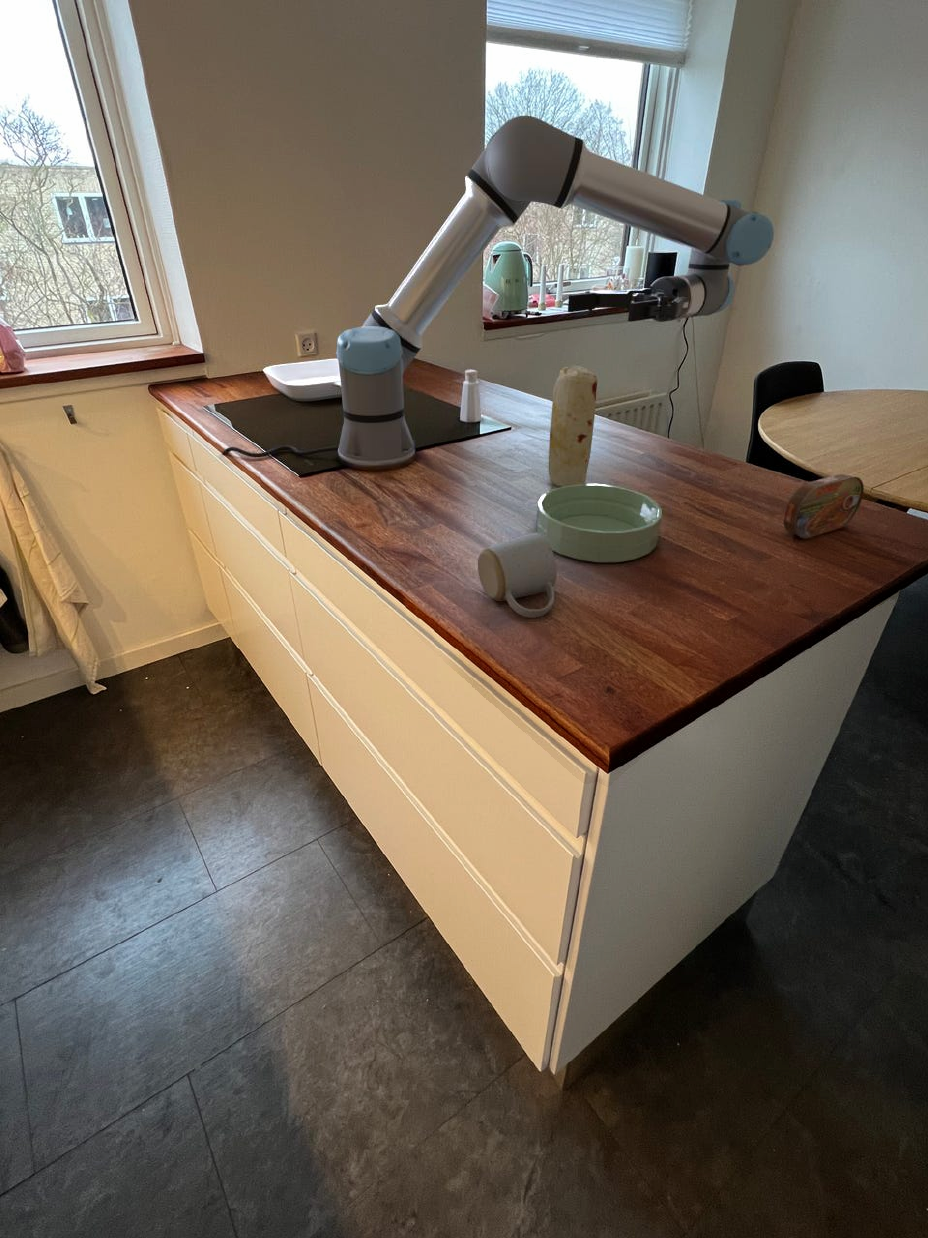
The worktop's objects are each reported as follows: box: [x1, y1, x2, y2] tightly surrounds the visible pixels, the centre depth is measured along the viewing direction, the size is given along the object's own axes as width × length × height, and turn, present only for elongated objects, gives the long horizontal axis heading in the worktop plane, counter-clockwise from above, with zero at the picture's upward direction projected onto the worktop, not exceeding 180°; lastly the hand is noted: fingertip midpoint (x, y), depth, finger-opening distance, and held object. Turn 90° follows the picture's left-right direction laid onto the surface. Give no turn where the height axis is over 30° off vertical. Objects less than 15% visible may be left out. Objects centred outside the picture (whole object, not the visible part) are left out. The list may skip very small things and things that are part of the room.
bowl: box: [535, 483, 663, 563], centre depth 96 cm, size 18×18×5 cm
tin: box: [783, 473, 865, 540], centre depth 97 cm, size 15×3×8 cm, turn 117°
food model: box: [547, 364, 598, 487], centre depth 111 cm, size 10×7×20 cm
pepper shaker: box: [459, 369, 482, 423], centre depth 147 cm, size 5×5×11 cm
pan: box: [262, 358, 342, 402], centre depth 168 cm, size 27×42×5 cm, turn 32°
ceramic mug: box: [477, 532, 558, 619], centre depth 80 cm, size 11×8×8 cm
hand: (598, 307), depth 108 cm, fingers open, 13 cm apart
